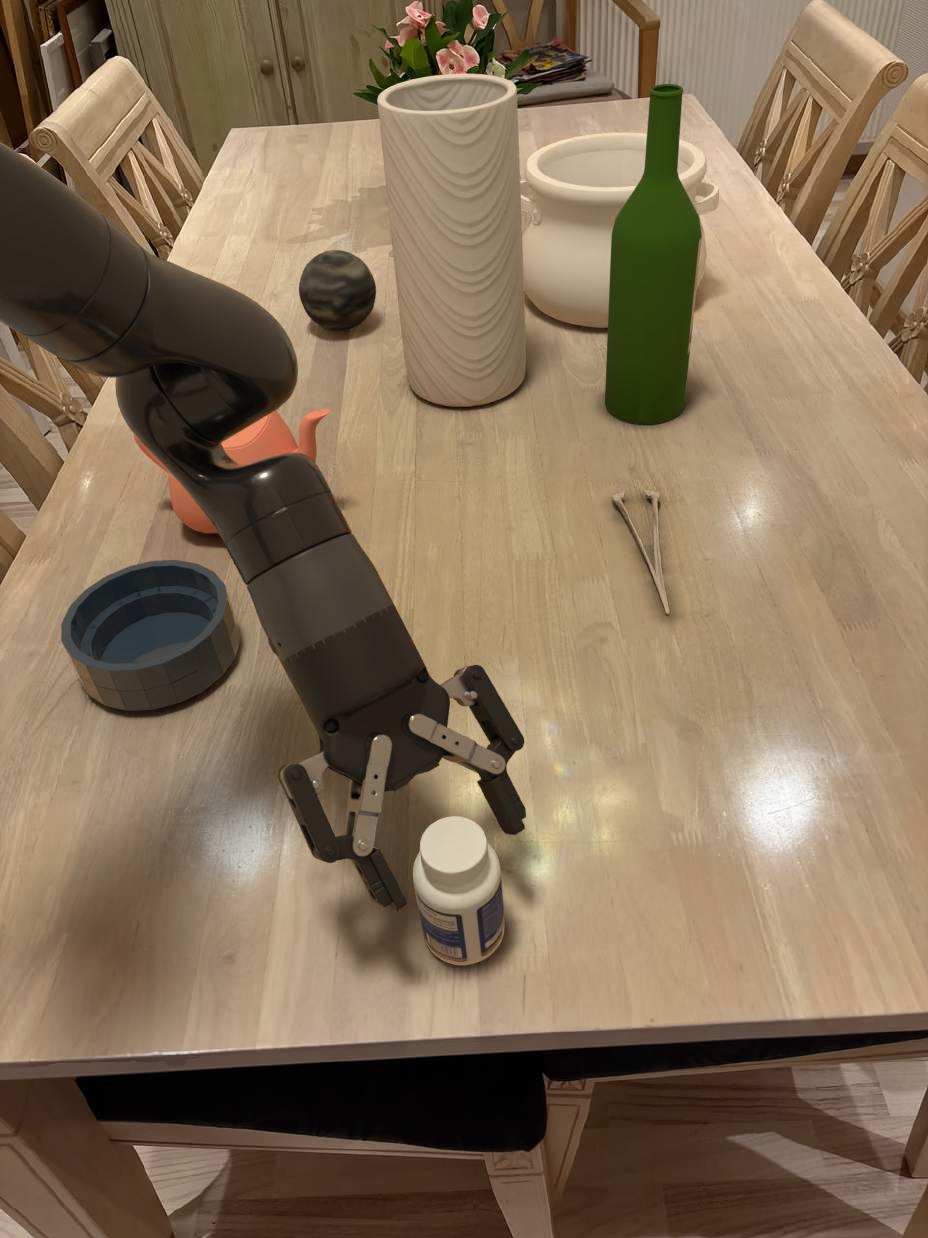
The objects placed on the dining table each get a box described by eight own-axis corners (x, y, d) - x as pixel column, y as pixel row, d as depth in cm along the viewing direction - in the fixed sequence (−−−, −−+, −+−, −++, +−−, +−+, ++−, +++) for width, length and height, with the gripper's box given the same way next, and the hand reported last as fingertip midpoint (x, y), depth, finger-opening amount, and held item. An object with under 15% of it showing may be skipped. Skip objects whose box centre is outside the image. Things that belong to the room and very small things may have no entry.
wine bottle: (697, 416, 107) (734, 93, 86) (621, 431, 106) (638, 107, 84) (665, 379, 114) (692, 69, 92) (593, 392, 113) (602, 82, 91)
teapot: (335, 550, 94) (314, 443, 86) (138, 548, 96) (99, 443, 88) (359, 472, 104) (342, 369, 95) (179, 472, 106) (148, 371, 98)
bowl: (115, 743, 77) (93, 696, 74) (62, 650, 86) (39, 604, 82) (268, 667, 83) (254, 619, 79) (203, 586, 91) (188, 540, 87)
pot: (497, 332, 125) (491, 193, 114) (531, 256, 143) (528, 128, 131) (703, 342, 120) (719, 196, 108) (712, 261, 137) (727, 128, 125)
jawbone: (609, 500, 97) (611, 484, 96) (657, 497, 97) (659, 481, 96) (639, 627, 85) (641, 611, 83) (693, 623, 85) (696, 607, 83)
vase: (521, 412, 111) (513, 110, 89) (398, 411, 112) (361, 115, 91) (530, 352, 121) (524, 69, 100) (417, 352, 123) (388, 74, 102)
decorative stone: (383, 339, 126) (373, 263, 119) (306, 348, 126) (292, 273, 119) (377, 306, 134) (368, 233, 127) (305, 315, 133) (292, 242, 126)
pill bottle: (489, 883, 66) (481, 795, 59) (517, 952, 62) (512, 866, 55) (412, 908, 65) (396, 821, 58) (436, 979, 61) (422, 895, 54)
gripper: (235, 676, 51) (375, 945, 52) (455, 566, 57) (579, 810, 57) (217, 688, 58) (341, 925, 59) (415, 588, 64) (526, 806, 64)
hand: (459, 868), depth 58 cm, fingers open, 8 cm apart
